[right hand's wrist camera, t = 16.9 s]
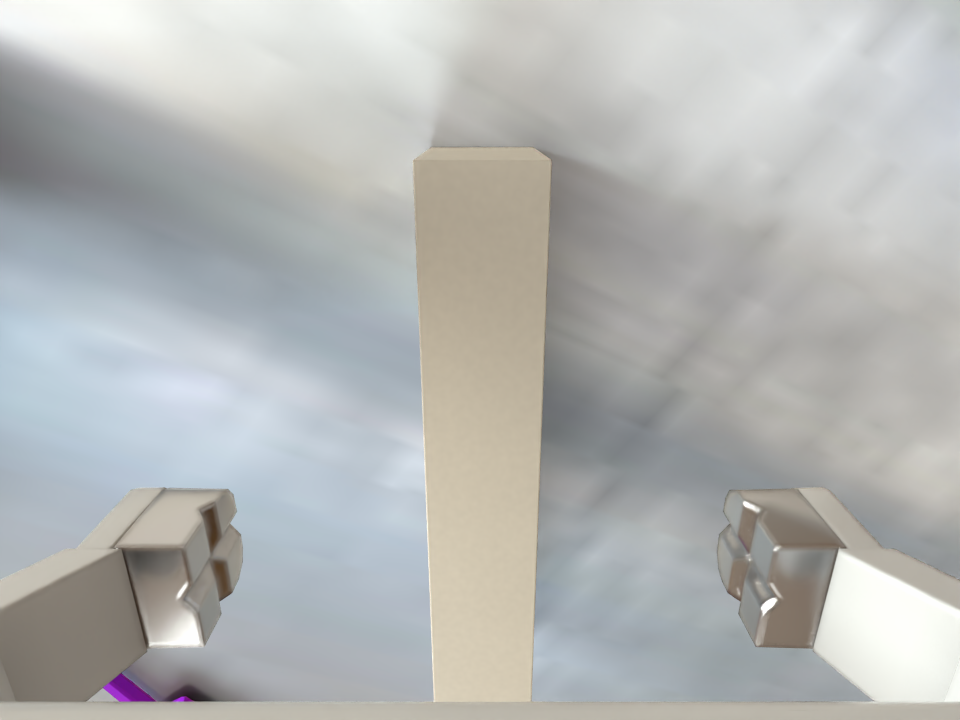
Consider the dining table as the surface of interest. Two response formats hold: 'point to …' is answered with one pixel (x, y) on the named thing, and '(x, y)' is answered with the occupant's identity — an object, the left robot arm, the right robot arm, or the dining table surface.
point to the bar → (482, 408)
